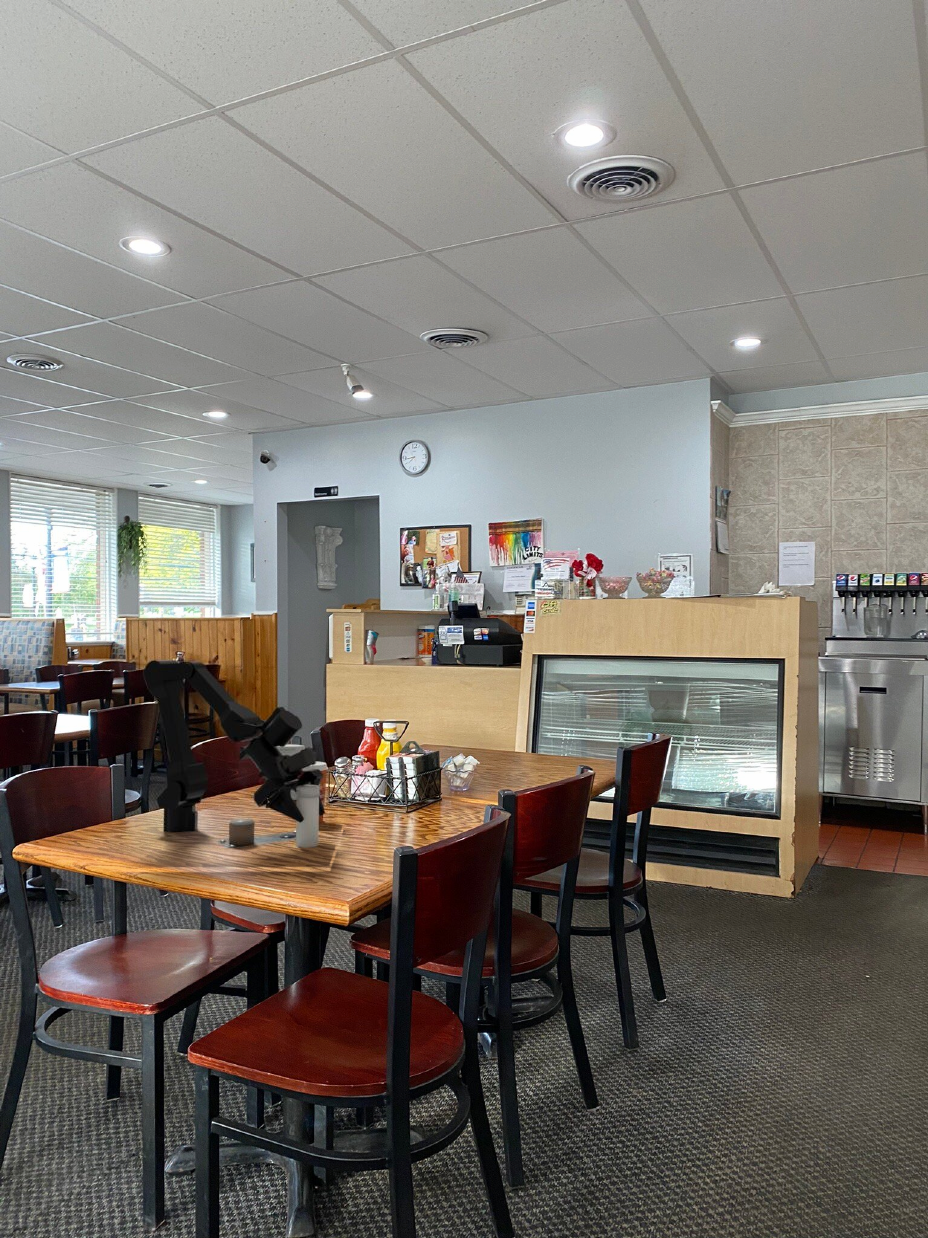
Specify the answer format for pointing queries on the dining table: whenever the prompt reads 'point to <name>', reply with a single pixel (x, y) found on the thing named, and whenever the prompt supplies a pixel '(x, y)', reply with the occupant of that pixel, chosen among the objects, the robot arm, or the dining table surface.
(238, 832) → the grey short cylinder
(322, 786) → the paper cup
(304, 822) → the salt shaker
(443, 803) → the dining table surface
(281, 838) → the plate
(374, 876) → the dining table surface
